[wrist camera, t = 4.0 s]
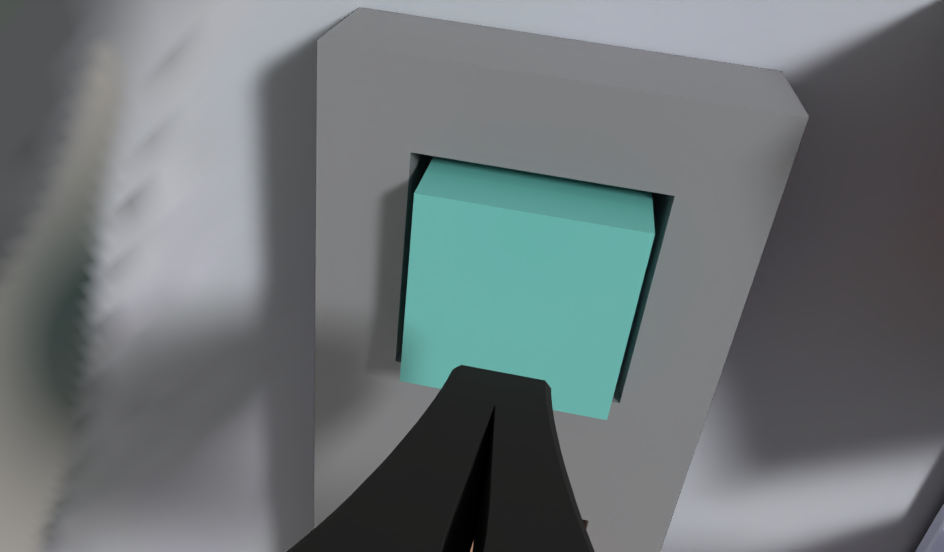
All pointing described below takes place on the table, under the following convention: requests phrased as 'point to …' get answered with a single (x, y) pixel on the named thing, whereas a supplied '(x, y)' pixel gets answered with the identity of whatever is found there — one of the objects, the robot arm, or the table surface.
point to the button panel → (557, 154)
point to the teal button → (524, 279)
